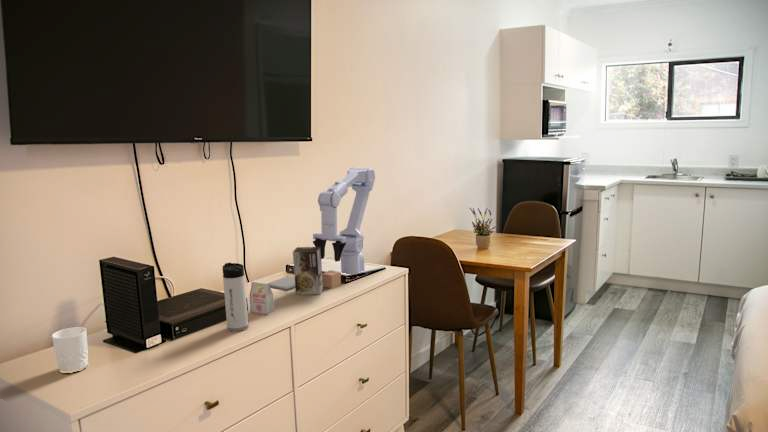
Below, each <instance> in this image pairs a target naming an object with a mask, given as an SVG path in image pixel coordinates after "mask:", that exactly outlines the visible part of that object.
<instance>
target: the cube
mask: <svg viewBox="0 0 768 432" xmlns="http://www.w3.org/2000/svg"><path fill="white" fill-rule="evenodd" d="M341 278H342V277H341V271H335V270H328V271H325V272H322V280H323V288H329V289H335V288H337V287H339V286H341V285H342V281H341V280H342V279H341Z"/></svg>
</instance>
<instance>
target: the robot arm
mask: <svg viewBox="0 0 768 432" xmlns="http://www.w3.org/2000/svg"><path fill="white" fill-rule="evenodd" d="M375 180H376V174H375V171H374V169H373V168H372V167H350V168H349V169H348V170H347V172H346V175H345V177H344V178H343V179H342V180H340V181H339V180H338V181H337V180H336V181H335V182H334V184H332V186H330V187H329V188H328V189H327V190H323V191H321V192H320V193H319V195H318V198H317V202H318V206H319V211H320V212H321V213H320V214H321V217H320V218H321V221H320V223H321V233H313V234H312V239H313V241H312V244H313V245H314V247H321V260H323V259H325V256H326V255H325V253H326V252H325V251H326V244H327V242H328V241H329V242H332V243H331V245H332V248H333V254H334V262H340V267H341V268H340V273H341V272H342V273H346V274H356V273H359V272H361V271H365V257H364V254H363V253H362V251H363V248H364V239H365V238H364V237H365V236H363V234H362V233H361V232H360V230H361V226H362V223H363V219H364V214H365V211H366V207H367V205H368V200H369V197H370V192H371V191H372V190H373V189H374V188H373V187H374V183H375ZM350 187H351V189H352V190H353V191H354V192H355V197H354V199H353V204H352V206H351V211H350V214H349V218H348V222H347V226H346V227H345V228H344V229H343V230H341V231H339V234H338V207H339V206H340V204H341V201H342V198H343V197H344V196H345V195H347V193H348V191H349V188H350ZM365 272H366V271H365ZM358 277H359V276H357V277H356V278H358Z"/></svg>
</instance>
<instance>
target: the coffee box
mask: <svg viewBox="0 0 768 432" xmlns="http://www.w3.org/2000/svg"><path fill="white" fill-rule="evenodd" d="M292 259H293V271H294V273H293V274H294V278H295V288H294V289H295V295H321V293H322V291H324V287H323V280H322V273H323V270H322V269H323V267H322V259H321V247H315V246H303V247H302V246H301V247H299V246H298V247H296V248H295V249H294V250H293V251H292Z"/></svg>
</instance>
